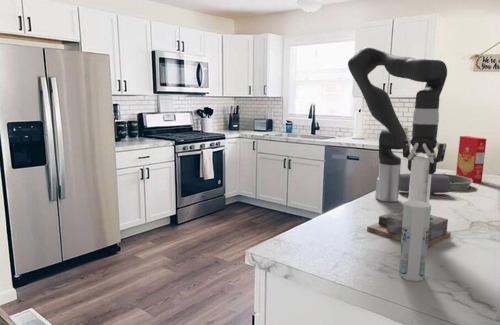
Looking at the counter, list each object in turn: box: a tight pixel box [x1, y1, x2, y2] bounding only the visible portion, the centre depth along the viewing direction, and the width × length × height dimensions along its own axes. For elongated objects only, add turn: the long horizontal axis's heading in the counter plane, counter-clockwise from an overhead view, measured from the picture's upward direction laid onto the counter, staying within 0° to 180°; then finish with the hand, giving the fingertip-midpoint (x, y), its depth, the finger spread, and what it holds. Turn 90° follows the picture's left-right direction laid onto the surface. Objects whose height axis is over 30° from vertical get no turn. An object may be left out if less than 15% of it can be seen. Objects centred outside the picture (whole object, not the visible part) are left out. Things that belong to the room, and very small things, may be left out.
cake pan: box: [432, 173, 473, 191], centre depth 202 cm, size 25×25×4 cm
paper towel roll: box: [407, 155, 432, 204], centre depth 125 cm, size 6×6×25 cm
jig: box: [366, 211, 452, 248], centre depth 130 cm, size 21×18×6 cm
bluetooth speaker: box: [399, 173, 451, 196], centre depth 184 cm, size 23×9×10 cm, turn 80°
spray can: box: [398, 200, 432, 282], centre depth 98 cm, size 6×6×20 cm
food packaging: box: [455, 135, 487, 184], centre depth 215 cm, size 15×5×25 cm, turn 6°
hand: (421, 172), depth 124 cm, fingers closed on paper towel roll, 6 cm apart
